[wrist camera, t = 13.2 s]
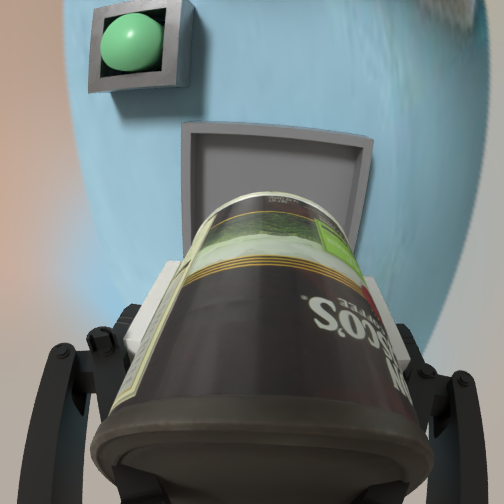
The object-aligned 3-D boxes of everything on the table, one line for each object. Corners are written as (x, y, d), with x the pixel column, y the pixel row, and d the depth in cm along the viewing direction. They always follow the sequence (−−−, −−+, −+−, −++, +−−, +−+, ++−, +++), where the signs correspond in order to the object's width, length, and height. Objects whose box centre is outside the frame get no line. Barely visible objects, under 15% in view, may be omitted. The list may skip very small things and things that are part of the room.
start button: (123, 26, 21) (102, 19, 17) (174, 19, 21) (159, 8, 17) (120, 75, 23) (98, 74, 20) (171, 70, 23) (155, 67, 19)
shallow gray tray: (190, 120, 26) (181, 123, 23) (364, 135, 25) (373, 139, 23) (191, 272, 33) (185, 287, 30) (337, 284, 33) (342, 299, 30)
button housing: (114, 17, 21) (93, 9, 17) (194, 6, 21) (182, -7, 17) (109, 92, 24) (88, 93, 21) (189, 86, 24) (175, 84, 21)
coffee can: (291, 153, 16) (357, 344, 4) (377, 286, 20) (453, 486, 7) (155, 252, 19) (40, 446, 7) (252, 352, 23) (235, 536, 10)
